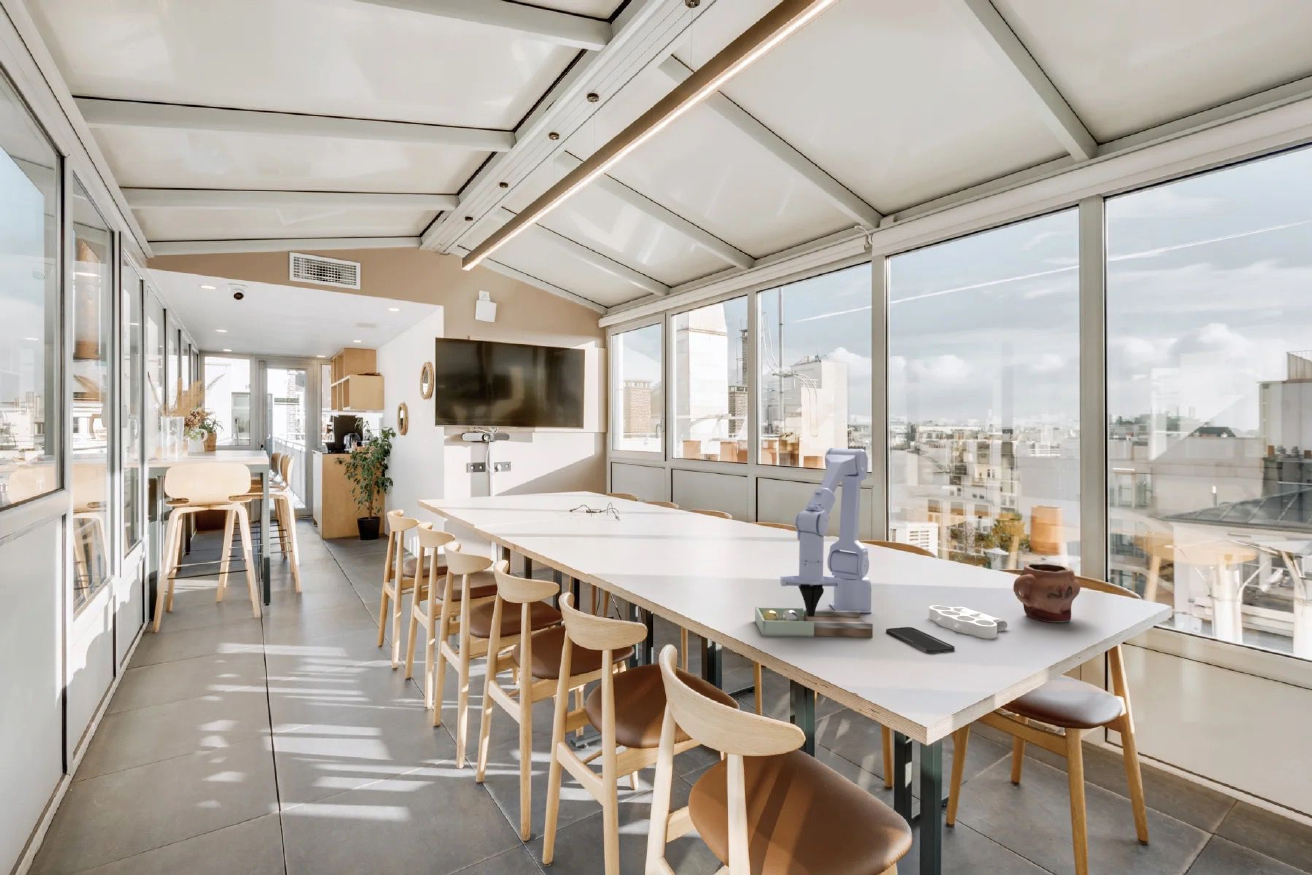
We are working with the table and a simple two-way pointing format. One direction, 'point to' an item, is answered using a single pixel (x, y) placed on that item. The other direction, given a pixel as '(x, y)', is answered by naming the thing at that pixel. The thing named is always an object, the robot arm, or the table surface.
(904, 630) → the phone
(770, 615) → the brass ball
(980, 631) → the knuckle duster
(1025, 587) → the decorative planter
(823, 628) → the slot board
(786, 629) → the sage tray
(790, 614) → the steel ball
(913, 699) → the table surface
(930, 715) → the table surface
